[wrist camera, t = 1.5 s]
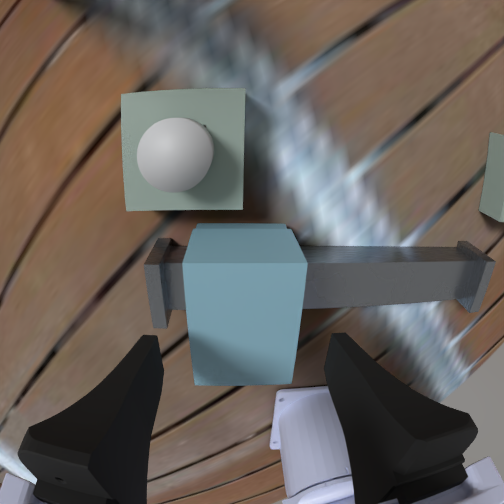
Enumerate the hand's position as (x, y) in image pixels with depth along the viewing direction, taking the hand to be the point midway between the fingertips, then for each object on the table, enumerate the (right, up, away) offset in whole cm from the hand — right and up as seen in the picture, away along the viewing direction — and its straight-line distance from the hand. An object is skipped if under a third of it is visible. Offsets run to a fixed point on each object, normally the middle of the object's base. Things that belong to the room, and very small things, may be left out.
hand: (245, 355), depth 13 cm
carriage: (0, +3, +7) cm, 8 cm away
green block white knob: (-3, +10, +4) cm, 11 cm away
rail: (+6, +3, +8) cm, 10 cm away
